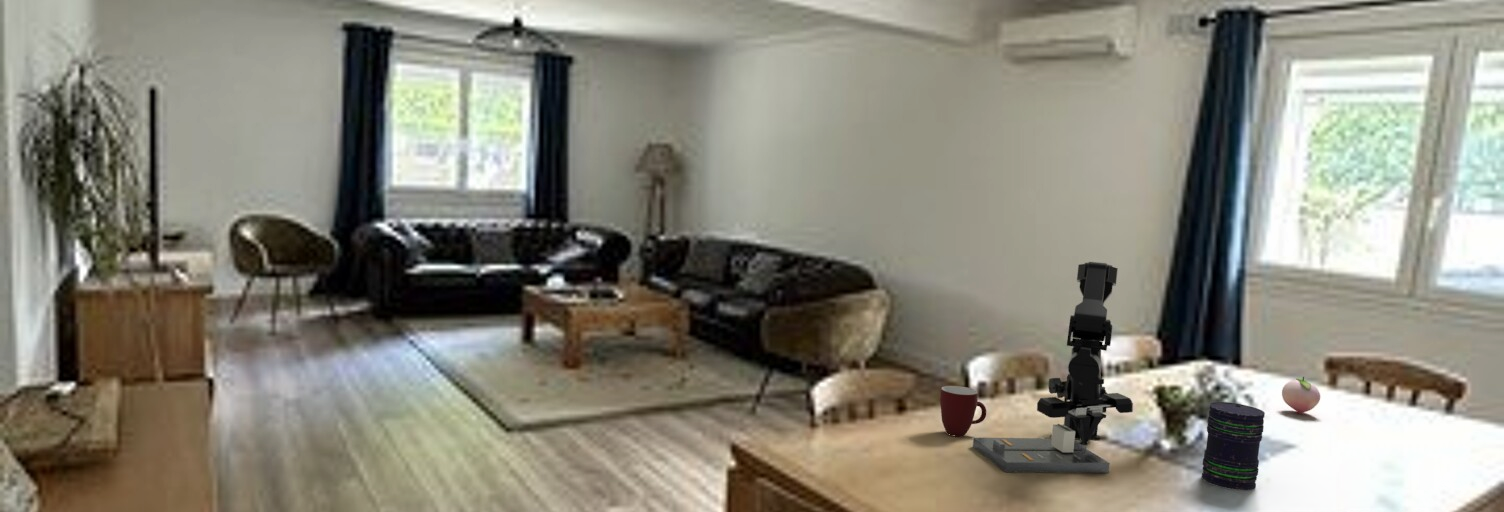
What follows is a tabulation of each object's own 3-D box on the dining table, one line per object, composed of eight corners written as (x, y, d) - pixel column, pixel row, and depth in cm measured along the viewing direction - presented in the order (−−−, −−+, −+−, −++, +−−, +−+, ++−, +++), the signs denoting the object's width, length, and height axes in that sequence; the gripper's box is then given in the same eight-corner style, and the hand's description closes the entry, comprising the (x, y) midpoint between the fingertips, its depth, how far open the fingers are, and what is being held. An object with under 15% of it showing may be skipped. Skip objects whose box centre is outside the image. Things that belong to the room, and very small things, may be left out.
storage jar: (1254, 494, 175) (1263, 418, 174) (1198, 482, 180) (1206, 408, 179) (1257, 481, 184) (1266, 408, 182) (1203, 469, 189) (1212, 399, 187)
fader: (1061, 445, 192) (1063, 423, 192) (1073, 452, 187) (1075, 430, 187) (1051, 444, 192) (1053, 423, 191) (1062, 452, 187) (1064, 430, 186)
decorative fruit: (1273, 407, 248) (1278, 371, 247) (1306, 410, 247) (1310, 374, 246) (1289, 416, 239) (1293, 379, 238) (1322, 419, 238) (1327, 382, 237)
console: (1068, 447, 199) (1069, 431, 198) (1108, 472, 183) (1110, 455, 183) (972, 446, 195) (974, 430, 194) (1005, 472, 179) (1007, 454, 179)
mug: (973, 428, 209) (977, 385, 208) (991, 439, 201) (995, 394, 200) (931, 429, 206) (934, 385, 205) (947, 440, 199) (951, 395, 198)
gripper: (1105, 361, 198) (1103, 431, 200) (1025, 365, 195) (1023, 437, 196) (1135, 372, 187) (1133, 446, 189) (1051, 378, 184) (1049, 453, 185)
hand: (1083, 445), depth 190 cm, fingers closed, pressing on console
